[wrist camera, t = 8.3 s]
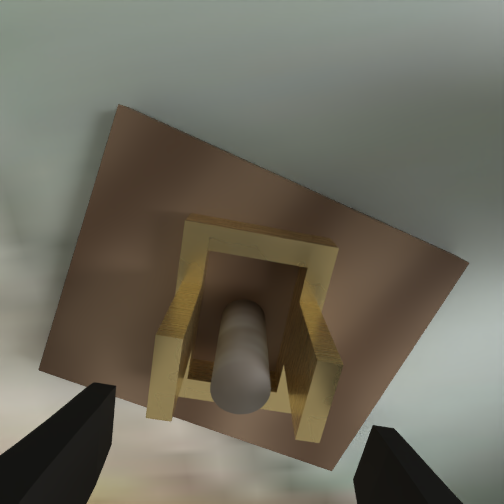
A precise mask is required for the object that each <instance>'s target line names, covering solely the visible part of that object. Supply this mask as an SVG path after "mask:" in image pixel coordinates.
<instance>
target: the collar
mask: <svg viewBox="0 0 504 504" xmlns="http://www.w3.org/2000/svg"><path fill="white" fill-rule="evenodd" d="M338 250H339V248H338V247H337V245H336V244H335V243H334V242H333V241H332V239H331V238H326V237H321V236H315V235H310V234H304V233H299V232H293V231H288V230H282V229H277V228H271V227H266V226H260V225H255V224H249V223H244V222H238V221H233V220H228V219H222V218H217V217H211V216H206V215H200V214H195V213H191V214H190V215H189V216H188V217H187V219H186V220H185V224H184V231H183V239H182V246H181V254H180V262H179V269H178V277H177V284H176V292H175V297H174V299H173V301H172V303H171V305H170V307H169V309H168V311H167V313H166V315H165V317H164V319H163V321H162V323H161V325H160V327H159V329H158V331H157V333H156V335H155V344H154V352H153V361H152V369H151V378H150V386H149V395H148V404H147V412H146V418H151V419H157V420H164V421H172V417H173V414H174V410H175V407H176V403H177V400H178V397H184V398H191V399H198V400H204V401H211V402H214V400H213V399H212V396H211V393H210V384H211V378H212V372H213V366H214V362H211V361H205V360H199V359H193V354H194V348H195V341H196V335H197V329H198V322H199V316H200V310H201V303H202V297H203V291H204V284H205V278H206V272H207V265H208V259H209V252H210V251H216V252H221V253H227V254H233V255H238V256H244V257H250V258H255V259H261V260H267V261H272V262H278V263H284V264H289V265H295V266H300V268H299V272H298V276H297V281H296V285H295V289H294V293H293V297H292V301H291V305H290V309H289V314H288V318H287V322H286V326H285V330H284V334H283V338H282V343H281V347H280V351H279V355H278V359H277V363H276V367H275V371H269V372H270V384H271V393H270V397H269V399H268V401H267V402H266V403H265V405H264V406H263V407H261V408H260V409H264V410H271V411H277V412H284V413H291V415H292V422H293V428H294V435H295V440H301V441H308V442H315V443H320V440H321V436H322V433H323V430H324V427H325V423H326V420H327V417H328V414H329V410H330V407H331V404H332V401H333V397H334V394H335V391H336V388H337V385H338V381H339V378H340V375H341V372H342V368H343V362H342V360H341V357H340V355H339V353H338V350H337V348H336V346H335V343H334V341H333V338H332V336H331V334H330V331H329V329H328V327H327V324H326V322H325V319H324V317H323V315H322V309H323V305H324V301H325V298H326V294H327V290H328V287H329V283H330V279H331V276H332V272H333V268H334V265H335V261H336V257H337V254H338Z"/></svg>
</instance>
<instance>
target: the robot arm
mask: <svg viewBox="0 0 504 504" xmlns="http://www.w3.org/2000/svg"><path fill="white" fill-rule="evenodd" d="M115 396H116V385H109V384H103V383H96V382H93V383H92V384H90V385H89V386H88V387H86V388H85V389H84V390H83V391H82V392H80V393H79V394H78V395H77V396H76V397H74V398H73V399H72V400H71V401H70V402H68V403H67V404H66V405H65V406H63V407H62V408H61V409H60V410H59V411H57V412H56V413H55V414H54V415H52V416H51V417H50V418H49V419H47V420H46V421H45V422H44V423H42V424H41V425H40V426H38V427H37V428H36V429H35V430H33V431H32V432H31V433H29V434H28V435H27V436H25V437H24V438H23V439H22V440H20V441H19V442H18V443H16V444H15V445H14V446H12V447H11V448H10V449H8V450H7V451H5V452H4V453H3V454H1V455H0V504H86V503H87V501H88V499H89V497H90V495H91V493H92V491H93V489H94V487H95V485H96V483H97V480H98V478H99V475H100V473H101V470H102V468H103V465H104V463H105V460H106V457H107V455H108V452H109V450H110V447H111V444H112V432H113V420H114V408H115ZM353 481H354V487H355V493H356V499H357V504H463V503H462V502H461V501H460V500H459V499H458V498H457V497H456V496H455V495H454V494H453V492H452V491H451V490H450V489H449V488H448V487H447V486H446V485H445V484H444V483H443V482H442V480H441V479H440V478H439V477H438V476H437V475H436V474H435V473H434V472H433V471H432V469H431V468H430V467H429V466H428V465H427V464H426V463H425V462H424V461H423V459H422V458H421V457H420V456H419V455H418V454H417V453H416V452H415V451H414V449H413V448H412V447H411V446H410V445H409V444H408V443H407V442H406V441H405V440H404V439H403V437H402V436H401V435H400V434H399V433H398V432H397V431H396V430H395V429H394V428H388V427H382V426H375V425H373V426H372V429H371V432H370V434H369V437H368V440H367V443H366V445H365V448H364V451H363V454H362V457H361V459H360V462H359V465H358V468H357V470H356V473H355V476H354V479H353Z"/></svg>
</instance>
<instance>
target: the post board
mask: <svg viewBox="0 0 504 504" xmlns="http://www.w3.org/2000/svg"><path fill="white" fill-rule="evenodd" d="M191 213H195V214H200V215H206V216H211V217H217V218H222V219H228V220H233V221H238V222H244V223H249V224H255V225H260V226H266V227H271V228H277V229H282V230H288V231H293V232H299V233H304V234H310V235H315V236H321V237H326V238H331V239H332V241H333V242H334V243H335V244H336V245H337V247H338V248H339V250H338V254H337V257H336V261H335V265H334V268H333V272H332V276H331V279H330V283H329V287H328V290H327V294H326V298H325V301H324V305H323V309H322V315H323V317H324V319H325V322H326V324H327V327H328V329H329V331H330V334H331V336H332V338H333V341H334V343H335V346H336V348H337V350H338V353H339V355H340V357H341V360H342V362H343V368H342V372H341V375H340V378H339V381H338V385H337V388H336V391H335V394H334V397H333V401H332V404H331V407H330V410H329V414H328V417H327V420H326V423H325V427H324V430H323V433H322V436H321V440H320V443H315V442H308V441H301V440H295V435H294V428H293V422H292V415H291V413H284V412H277V411H271V410H264V409H260V408H261V407H263V406H264V405H265V403H266V402H267V401H268V399H269V397H270V393H271V384H270V372H269V371H275V367H276V363H277V359H278V355H279V351H280V347H281V343H282V338H283V334H284V330H285V326H286V322H287V318H288V314H289V309H290V305H291V301H292V297H293V293H294V289H295V285H296V281H297V276H298V272H299V268H300V266H295V265H289V264H284V263H278V262H272V261H267V260H261V259H255V258H250V257H244V256H238V255H233V254H227V253H221V252H216V251H210V252H209V259H208V265H207V272H206V278H205V284H204V291H203V297H202V303H201V310H200V316H199V322H198V329H197V335H196V341H195V348H194V354H193V359H199V360H205V361H211V362H214V366H213V372H212V378H211V384H210V393H211V396H212V399H213V400H214V402H211V401H204V400H198V399H191V398H184V397H178V400H177V403H176V407H175V410H174V414H173V417H176V418H179V419H182V420H185V421H188V422H191V423H193V424H196V425H199V426H202V427H205V428H208V429H211V430H214V431H217V432H220V433H222V434H225V435H228V436H231V437H234V438H237V439H240V440H243V441H246V442H249V443H251V444H254V445H257V446H260V447H263V448H266V449H269V450H272V451H275V452H278V453H281V454H283V455H286V456H289V457H292V458H295V459H298V460H301V461H304V462H307V463H310V464H312V465H315V466H318V467H321V468H324V469H327V470H330V471H332V470H333V468H334V467H335V465H336V464H337V462H338V461H339V459H340V458H341V456H342V455H343V453H344V452H345V450H346V449H347V447H348V446H349V444H350V443H351V441H352V440H353V438H354V437H355V435H356V434H357V432H358V431H359V429H360V428H361V426H362V425H363V423H364V422H365V420H366V419H367V417H368V416H369V414H370V412H371V411H372V409H373V408H374V406H375V405H376V403H377V402H378V400H379V399H380V397H381V396H382V394H383V393H384V391H385V390H386V388H387V387H388V385H389V384H390V382H391V381H392V379H393V378H394V376H395V375H396V373H397V372H398V370H399V369H400V367H401V366H402V364H403V363H404V361H405V360H406V358H407V357H408V355H409V354H410V352H411V351H412V349H413V348H414V346H415V344H416V343H417V341H418V340H419V338H420V337H421V335H422V334H423V332H424V331H425V329H426V328H427V326H428V325H429V323H430V322H431V320H432V319H433V317H434V316H435V314H436V313H437V311H438V310H439V308H440V307H441V305H442V304H443V302H444V301H445V299H446V298H447V296H448V295H449V293H450V292H451V290H452V289H453V287H454V286H455V284H456V283H457V281H458V279H459V278H460V276H461V275H462V273H463V272H464V270H465V269H466V267H467V266H468V264H469V263H468V262H467V261H465V260H463V259H461V258H459V257H457V256H456V255H454V254H451V253H449V252H447V251H445V250H443V249H440V248H438V247H436V246H434V245H432V244H429V243H427V242H425V241H423V240H421V239H418V238H416V237H414V236H412V235H409V234H407V233H405V232H403V231H401V230H398V229H396V228H394V227H392V226H390V225H387V224H385V223H383V222H381V221H379V220H376V219H374V218H372V217H370V216H368V215H365V214H363V213H361V212H359V211H357V210H354V209H352V208H350V207H348V206H346V205H343V204H341V203H339V202H337V201H334V200H332V199H330V198H328V197H326V196H323V195H321V194H319V193H317V192H315V191H312V190H310V189H308V188H306V187H304V186H301V185H299V184H297V183H295V182H293V181H290V180H288V179H286V178H284V177H282V176H279V175H277V174H275V173H273V172H270V171H268V170H266V169H264V168H262V167H259V166H257V165H255V164H253V163H251V162H248V161H246V160H244V159H242V158H240V157H237V156H235V155H233V154H231V153H229V152H226V151H224V150H222V149H220V148H218V147H215V146H213V145H211V144H209V143H207V142H204V141H202V140H200V139H198V138H195V137H193V136H191V135H189V134H187V133H184V132H182V131H180V130H178V129H176V128H173V127H171V126H169V125H167V124H165V123H162V122H160V121H158V120H156V119H154V118H151V117H149V116H147V115H145V114H143V113H140V112H138V111H136V110H134V109H131V108H129V107H126V106H123V105H120V104H118V107H117V111H116V114H115V117H114V121H113V124H112V127H111V131H110V134H109V137H108V141H107V144H106V147H105V151H104V154H103V157H102V161H101V164H100V167H99V171H98V174H97V177H96V181H95V184H94V187H93V191H92V194H91V197H90V200H89V204H88V207H87V210H86V214H85V217H84V220H83V224H82V227H81V230H80V234H79V237H78V240H77V244H76V247H75V250H74V254H73V257H72V260H71V264H70V267H69V270H68V274H67V277H66V280H65V284H64V287H63V290H62V294H61V297H60V300H59V304H58V307H57V310H56V313H55V317H54V320H53V323H52V327H51V330H50V333H49V337H48V340H47V343H46V347H45V350H44V353H43V357H42V360H41V363H40V367H39V370H40V371H42V372H45V373H48V374H51V375H54V376H57V377H60V378H63V379H66V380H69V381H71V382H74V383H77V384H80V385H83V386H86V387H88V386H89V385H90V384H92V383H93V382H96V383H103V384H109V385H116V396H115V397H118V398H121V399H124V400H127V401H130V402H132V403H135V404H138V405H141V406H144V407H147V404H148V395H149V386H150V378H151V369H152V361H153V352H154V344H155V335H156V333H157V331H158V329H159V327H160V325H161V323H162V321H163V319H164V317H165V315H166V313H167V311H168V309H169V307H170V305H171V303H172V301H173V299H174V297H175V292H176V284H177V277H178V269H179V262H180V254H181V246H182V239H183V231H184V224H185V220H186V219H187V217H188V216H189V215H190V214H191Z"/></svg>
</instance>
